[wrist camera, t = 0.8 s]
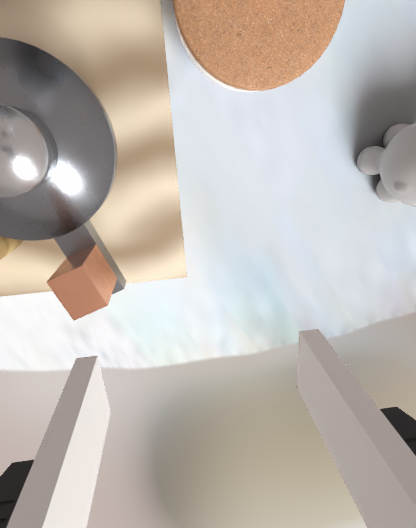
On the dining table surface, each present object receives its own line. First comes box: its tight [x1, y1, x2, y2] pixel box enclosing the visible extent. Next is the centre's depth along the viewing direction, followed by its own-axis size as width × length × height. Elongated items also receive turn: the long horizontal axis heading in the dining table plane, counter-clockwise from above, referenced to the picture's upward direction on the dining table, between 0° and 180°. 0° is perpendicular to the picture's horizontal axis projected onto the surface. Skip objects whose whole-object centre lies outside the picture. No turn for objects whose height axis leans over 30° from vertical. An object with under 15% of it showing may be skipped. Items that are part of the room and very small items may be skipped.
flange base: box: [0, 0, 187, 296], centre depth 25 cm, size 24×20×8 cm
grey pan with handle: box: [0, 37, 126, 320], centre depth 20 cm, size 18×12×6 cm
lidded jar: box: [172, 0, 345, 92], centre depth 22 cm, size 11×11×9 cm
